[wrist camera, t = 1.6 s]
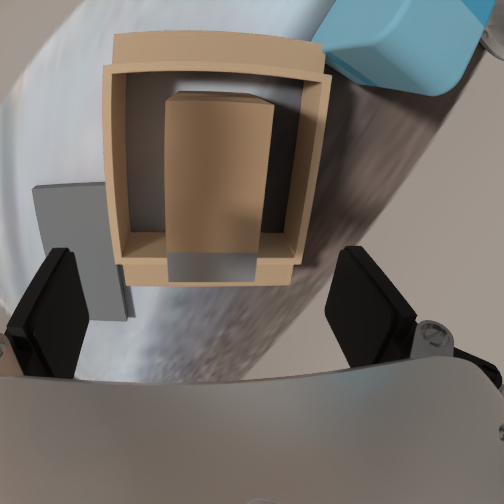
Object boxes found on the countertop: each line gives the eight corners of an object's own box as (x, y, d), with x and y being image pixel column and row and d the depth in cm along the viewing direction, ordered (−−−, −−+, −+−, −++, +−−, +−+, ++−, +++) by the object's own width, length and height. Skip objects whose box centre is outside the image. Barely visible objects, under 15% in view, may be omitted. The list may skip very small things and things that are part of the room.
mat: (109, 181, 23) (106, 185, 23) (128, 316, 30) (126, 321, 30) (35, 185, 22) (31, 189, 21) (66, 313, 29) (64, 318, 29)
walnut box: (248, 93, 21) (274, 105, 14) (238, 216, 27) (254, 281, 19) (179, 91, 21) (165, 100, 13) (177, 215, 26) (168, 282, 18)
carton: (315, 49, 20) (335, 47, 17) (285, 258, 29) (296, 285, 26) (120, 40, 18) (104, 35, 14) (127, 258, 27) (118, 285, 24)
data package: (350, 84, 22) (451, 103, 12) (302, 54, 20) (382, 41, 10) (409, -16, 17) (512, -37, 7) (367, -48, 15) (459, -93, 5)
